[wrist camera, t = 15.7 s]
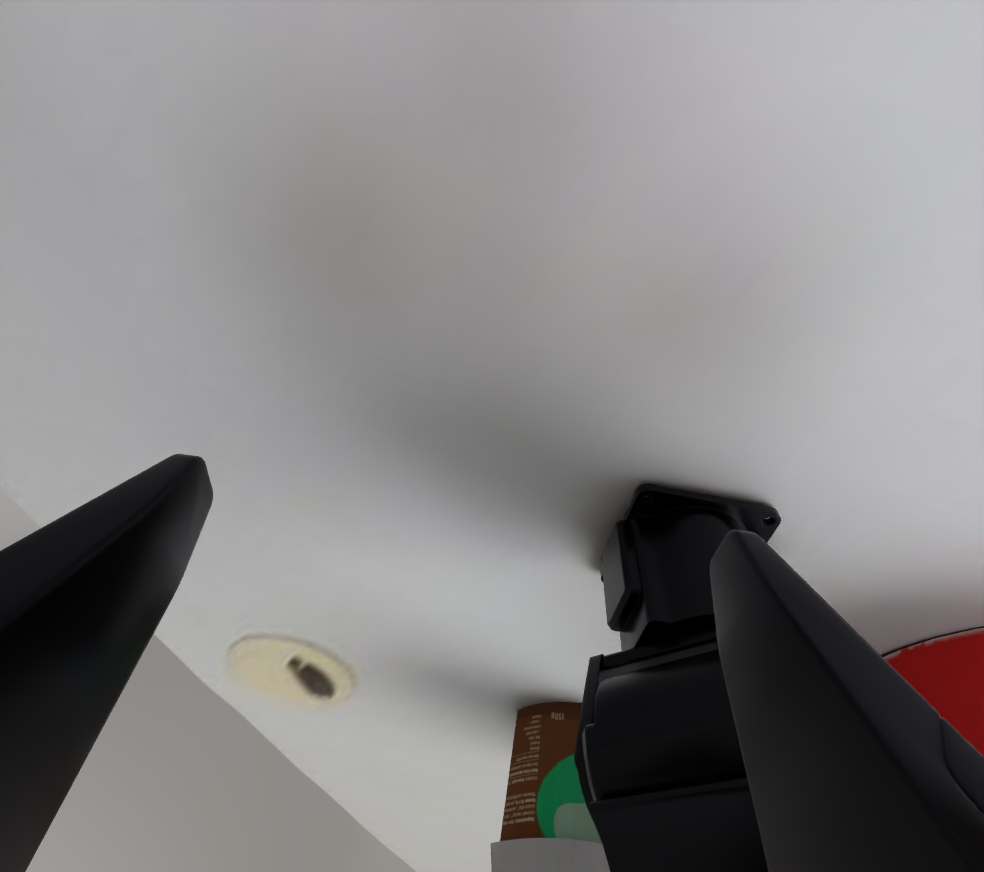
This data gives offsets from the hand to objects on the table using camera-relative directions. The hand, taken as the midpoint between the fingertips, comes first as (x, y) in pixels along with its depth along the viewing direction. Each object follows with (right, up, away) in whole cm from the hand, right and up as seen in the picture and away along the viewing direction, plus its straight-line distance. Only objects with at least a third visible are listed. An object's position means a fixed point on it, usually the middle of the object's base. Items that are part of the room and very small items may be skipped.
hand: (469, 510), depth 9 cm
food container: (+8, -18, +27) cm, 34 cm away
